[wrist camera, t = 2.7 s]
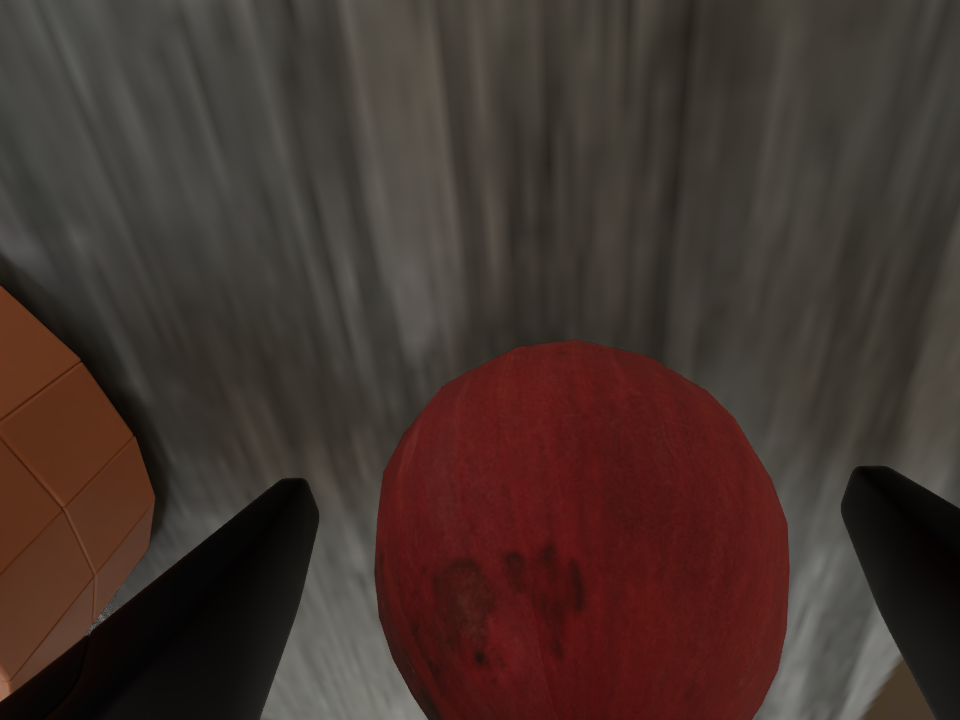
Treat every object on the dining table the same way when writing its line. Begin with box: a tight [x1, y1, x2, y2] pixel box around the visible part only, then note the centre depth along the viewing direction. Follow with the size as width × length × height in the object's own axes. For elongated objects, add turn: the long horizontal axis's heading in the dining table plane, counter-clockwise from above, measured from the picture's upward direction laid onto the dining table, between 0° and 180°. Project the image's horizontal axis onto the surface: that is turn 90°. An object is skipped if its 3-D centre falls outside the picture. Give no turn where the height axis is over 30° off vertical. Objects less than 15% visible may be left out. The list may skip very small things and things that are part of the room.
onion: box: [375, 340, 790, 720], centre depth 8 cm, size 6×6×8 cm
